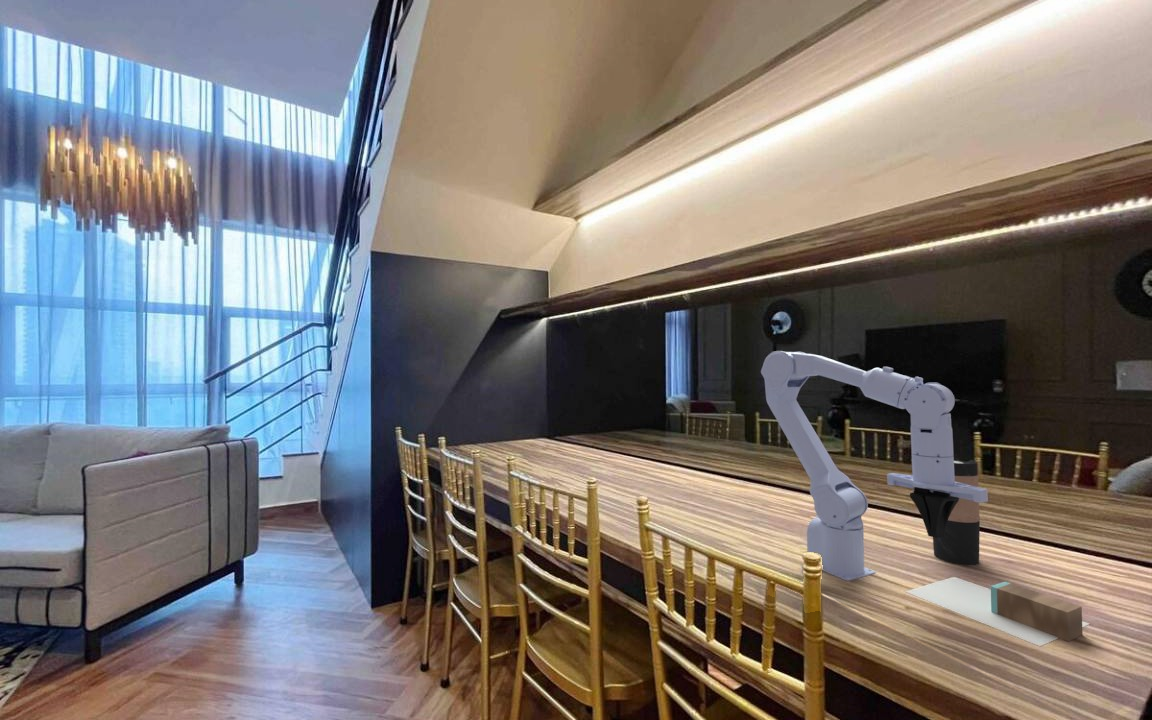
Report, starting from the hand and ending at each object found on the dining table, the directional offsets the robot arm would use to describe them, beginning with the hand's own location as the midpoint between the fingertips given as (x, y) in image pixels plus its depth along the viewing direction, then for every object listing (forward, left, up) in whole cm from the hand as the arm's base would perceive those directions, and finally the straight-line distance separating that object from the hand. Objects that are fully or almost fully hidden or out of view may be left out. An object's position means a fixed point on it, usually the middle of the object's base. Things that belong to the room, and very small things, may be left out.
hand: (935, 536), depth 81 cm
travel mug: (-8, +21, -11) cm, 25 cm away
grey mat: (+6, +4, -10) cm, 12 cm away
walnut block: (+7, +4, -8) cm, 11 cm away
